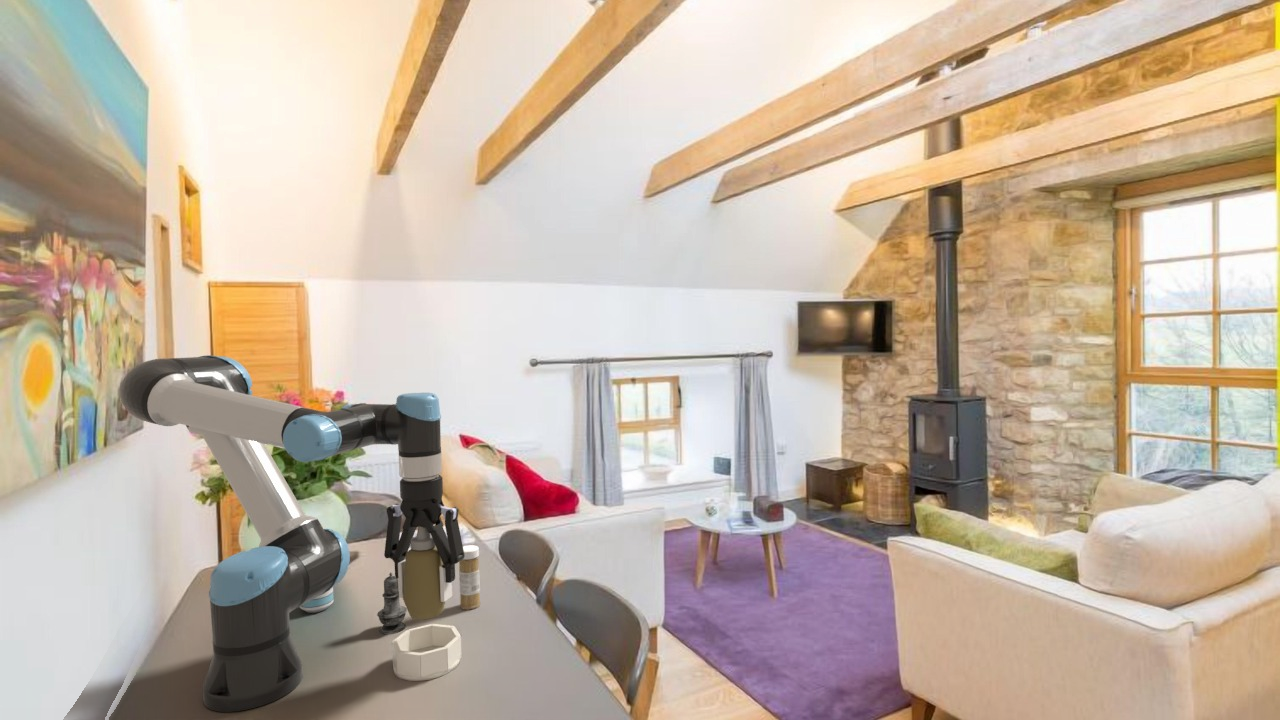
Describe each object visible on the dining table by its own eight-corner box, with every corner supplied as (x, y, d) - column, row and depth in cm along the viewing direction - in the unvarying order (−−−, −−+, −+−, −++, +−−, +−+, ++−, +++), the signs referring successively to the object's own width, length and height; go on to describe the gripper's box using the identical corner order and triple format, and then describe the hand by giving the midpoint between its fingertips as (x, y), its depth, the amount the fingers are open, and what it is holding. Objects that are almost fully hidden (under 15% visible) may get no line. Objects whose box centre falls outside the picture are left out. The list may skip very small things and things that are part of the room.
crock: (400, 688, 114) (399, 661, 113) (388, 658, 124) (387, 634, 124) (468, 668, 120) (467, 643, 119) (451, 642, 130) (450, 618, 130)
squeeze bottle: (395, 615, 121) (391, 520, 120) (433, 600, 127) (429, 510, 126) (419, 627, 116) (415, 528, 115) (457, 611, 122) (454, 517, 121)
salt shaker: (397, 635, 133) (395, 578, 133) (371, 633, 134) (369, 576, 134) (413, 623, 139) (411, 568, 138) (388, 621, 140) (386, 566, 140)
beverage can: (331, 599, 152) (329, 549, 151) (335, 609, 146) (333, 557, 146) (298, 606, 148) (296, 555, 148) (301, 617, 143) (299, 564, 142)
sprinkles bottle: (475, 600, 150) (473, 543, 149) (484, 606, 147) (482, 548, 146) (456, 605, 147) (454, 547, 147) (464, 612, 144) (463, 552, 143)
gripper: (481, 473, 121) (485, 593, 122) (385, 470, 126) (389, 584, 127) (461, 483, 114) (465, 610, 115) (359, 479, 119) (364, 600, 120)
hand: (425, 596), depth 121 cm, fingers closed on squeeze bottle, 8 cm apart
